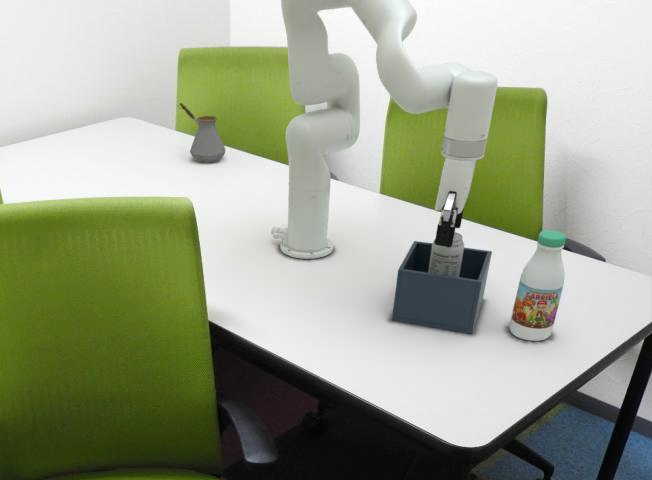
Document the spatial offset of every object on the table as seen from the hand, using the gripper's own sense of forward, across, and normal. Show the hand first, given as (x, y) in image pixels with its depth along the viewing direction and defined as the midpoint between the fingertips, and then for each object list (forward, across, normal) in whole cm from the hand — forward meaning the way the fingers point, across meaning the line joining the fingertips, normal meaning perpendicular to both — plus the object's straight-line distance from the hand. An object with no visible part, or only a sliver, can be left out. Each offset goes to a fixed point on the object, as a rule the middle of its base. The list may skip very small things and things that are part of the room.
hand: (447, 235), depth 146 cm
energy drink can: (+15, 0, +1) cm, 15 cm away
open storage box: (+16, 0, +1) cm, 16 cm away
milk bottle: (+16, +4, +19) cm, 25 cm away
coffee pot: (+19, -82, -91) cm, 124 cm away
